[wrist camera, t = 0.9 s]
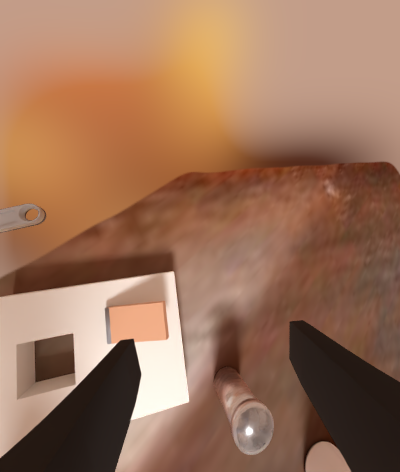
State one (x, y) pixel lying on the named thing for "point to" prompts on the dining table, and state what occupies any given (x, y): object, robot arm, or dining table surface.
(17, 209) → the adjustable wrench
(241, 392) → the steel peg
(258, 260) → the dining table surface
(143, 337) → the block
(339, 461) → the can
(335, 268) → the dining table surface
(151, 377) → the plate
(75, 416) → the robot arm
